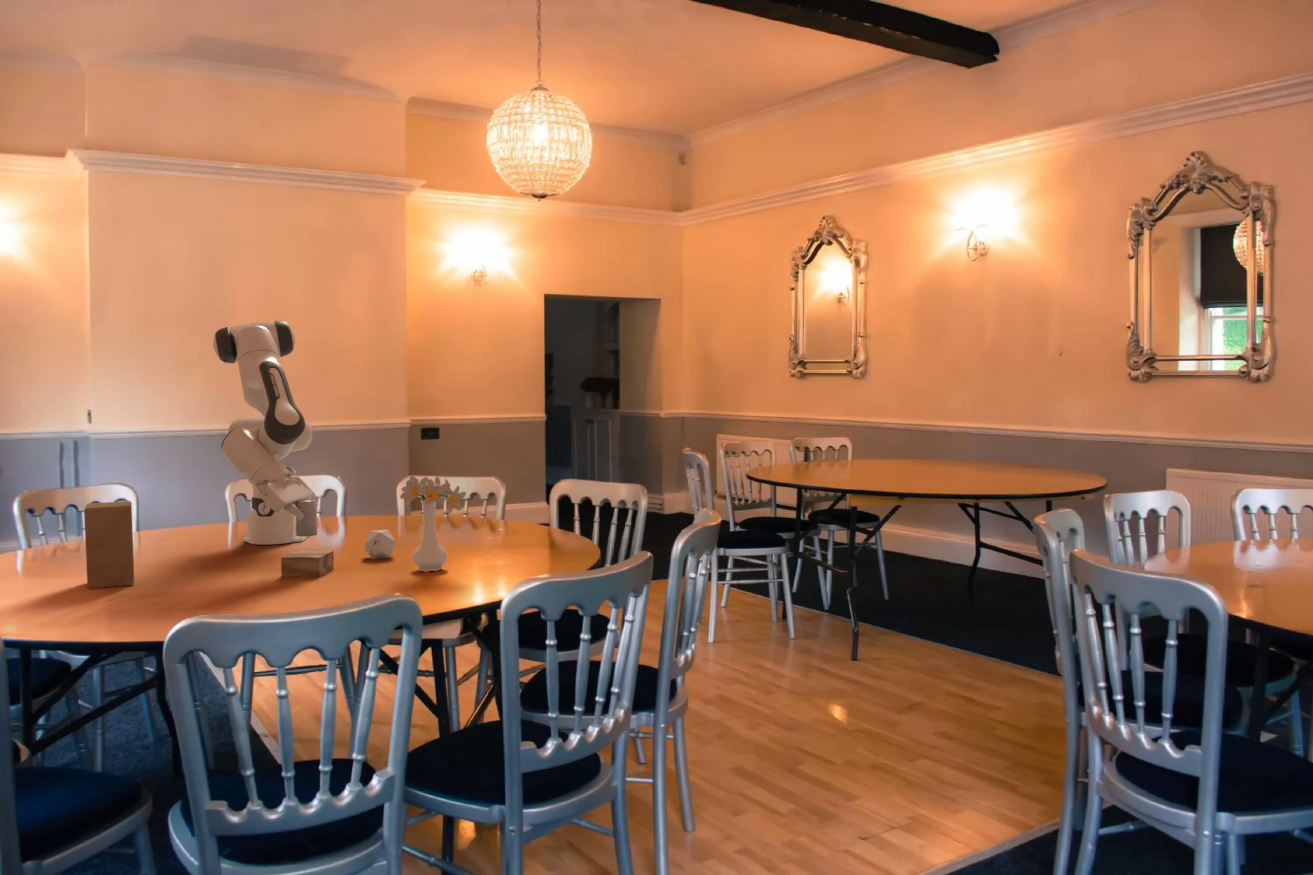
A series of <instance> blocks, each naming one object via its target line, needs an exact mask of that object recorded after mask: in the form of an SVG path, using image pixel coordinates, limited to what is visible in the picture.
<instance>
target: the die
mask: <svg viewBox="0 0 1313 875" xmlns="http://www.w3.org/2000/svg"><path fill="white" fill-rule="evenodd" d="M395 543H396V540H395V538H394V537H393V535H392V534H391V532H390V530H389V529H379V530H378V529H377V530H369V533H368V535H367V538H366V540H365V543H364V549H365V550H366V553H367V555H368V556H369V558H370V559H371V560H377V559H389V558H391V555H392V552H393V549H394V547H395Z"/></svg>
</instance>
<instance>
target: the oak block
mask: <svg viewBox="0 0 1313 875" xmlns="http://www.w3.org/2000/svg"><path fill="white" fill-rule="evenodd" d="M334 554H335V553H334V550H306V549H305V550H302V549H300V550H297V549H296V550H294V551H292V552H290V553H288V554H286V555H283V556H281V557H280V560H281V561H280V565H281V566H280V569H281V570H280V571H281V577H285V578H286V577H288V578H289V577H292V578H293V577H294V578H295V577H296V578H298V577H299V578H300V577H302V578H303V577H304V578H307V577H308V578H313V577H314V578H320V577H323V576H324V575H326V574H328V573H330V572H331V571H333V570H334V568H335V564H334V562H335V561H334V559H335V556H334Z"/></svg>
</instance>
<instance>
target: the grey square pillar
mask: <svg viewBox="0 0 1313 875" xmlns="http://www.w3.org/2000/svg"><path fill="white" fill-rule="evenodd" d="M295 504H296V507H297V508H298V509H299V510H301V511H303V512H304V513H305V514H306V517H305V518H304V519H302V520H299V519H298V518H297V517H296V536H302V537H304V536H309V537H314V536H317V535H318V515H317V514H318V512H317V510H318V509H317V507H318V506H317V505H318V504H317V500H316V499H310V500H300V501H297V502H295Z"/></svg>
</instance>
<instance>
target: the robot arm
mask: <svg viewBox="0 0 1313 875" xmlns="http://www.w3.org/2000/svg"><path fill="white" fill-rule="evenodd" d="M295 343H296V337H295V333H294V330H293V329H292V327H291V326H290V324H289V323H288V322H287V321H285V320H274V321H256V322H251V323H244V324H239V325H234V326H230V327H228V326H225V327H221V328H219V329H217V331H216V332H215V333H214V338H213V343H212V345H213V349H214V352H215V355H216V356H217V358H218V359H219V361H221V362H223V363H225V364H235V363H237V365H238V371H239V375H240V376H239V377H240V383H241V387H242V393H243V397H244V398H243V399H244V401H245V403H246V405H248V406H249V407H251V408H253V409H254V410H256V411H258V412H259V413H261V414H262V416H247V417H241V418H238V419H235V420H233V421H232V422H231V424H230V425H229V427H228V430H227V434H226V436H225V437H224V438H223V441H222V443H221V445H220V451H221V453H222V455H223V456H224V457H225V458H226V460H227V461H228V462H229V463H230V465H232V466H233V468H234V469H236V471H237V472H239V473H241V474H242V475H244V477H246V480H247V481H248V482H249V483H250V484H251V485H252V487H251V488H252V497H251V501H250V504H251V509H252V511H251V512H250V513H249V514H248V516H247V527H246V528H247V529H246V530H247V531H246V536H245V537H243V539H242V541H243V542H245V543H248V544H251V545H281V544H290V543H299V542H304V541H306V539H307V538H309V537H310V536H304V537H302V536H296V517H297V518H298V519H299V520H302V519H304V518H305V517H306V514H305V513H304V512H303V511H301V510H299V509H298V508H297V507H296V504H295V502H297V501H300V500H312V498H313V497H314V495H315V494H314V492H313V491H312V489H311V488H310V486H308V484H306V482H305V481H304V480H303V479H302V478H301V477H299V475H296V473H297V471H296V470H295V469H294V468H293V467H291V466H288V465H284V464H283V463H281V462H280V461H282V460H284V459H285V458H286V457H287V456H289V454H290V453H291V452H292V453H294V452H298V451H302V450H306V449H307V448H308V447H309V446H310V445H311V442H312V440H313V430H312V426H311V424H310V423H309V422H308V421H307V419H305V418H304V416H303V415H304V414H302V412H301V411H300V409H299V407H298V406H297V405H296V403H295V402H294V399H293V395H292V393H291V389H290V386H289V382H288V380H287V377H286V372H285V371H284V368H283V366H282V362H281V358H282V357H285V356H288V355H290V354H291V353H292V352H293V351H294V347H295Z"/></svg>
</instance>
